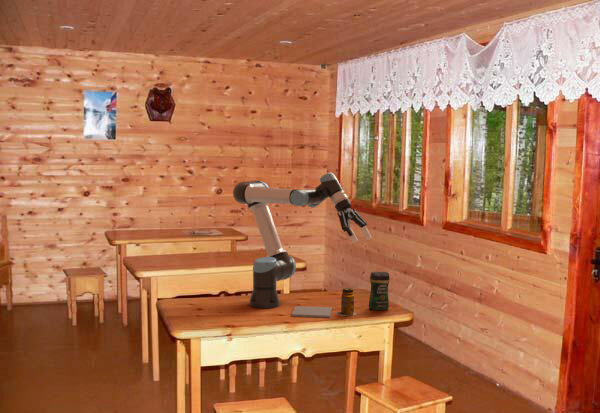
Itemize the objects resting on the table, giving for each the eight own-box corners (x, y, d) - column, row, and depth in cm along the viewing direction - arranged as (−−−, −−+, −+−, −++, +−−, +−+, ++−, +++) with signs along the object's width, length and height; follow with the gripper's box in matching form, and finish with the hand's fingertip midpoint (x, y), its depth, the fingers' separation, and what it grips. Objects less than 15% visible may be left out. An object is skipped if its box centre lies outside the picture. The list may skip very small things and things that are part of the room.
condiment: (357, 314, 311) (358, 289, 310) (343, 316, 306) (343, 291, 305) (348, 311, 317) (348, 286, 316) (334, 313, 312) (334, 288, 311)
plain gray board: (291, 316, 305) (291, 314, 305) (295, 308, 321) (295, 306, 321) (330, 317, 303) (330, 315, 303) (331, 309, 319) (331, 307, 319)
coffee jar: (371, 311, 317) (372, 273, 315) (367, 307, 325) (368, 270, 323) (390, 310, 319) (391, 273, 317) (385, 306, 326) (386, 270, 325)
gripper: (333, 199, 300) (355, 238, 295) (359, 196, 321) (380, 233, 316) (321, 207, 304) (343, 247, 299) (348, 204, 325) (369, 241, 319)
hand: (362, 240), depth 307 cm, fingers open, 13 cm apart
